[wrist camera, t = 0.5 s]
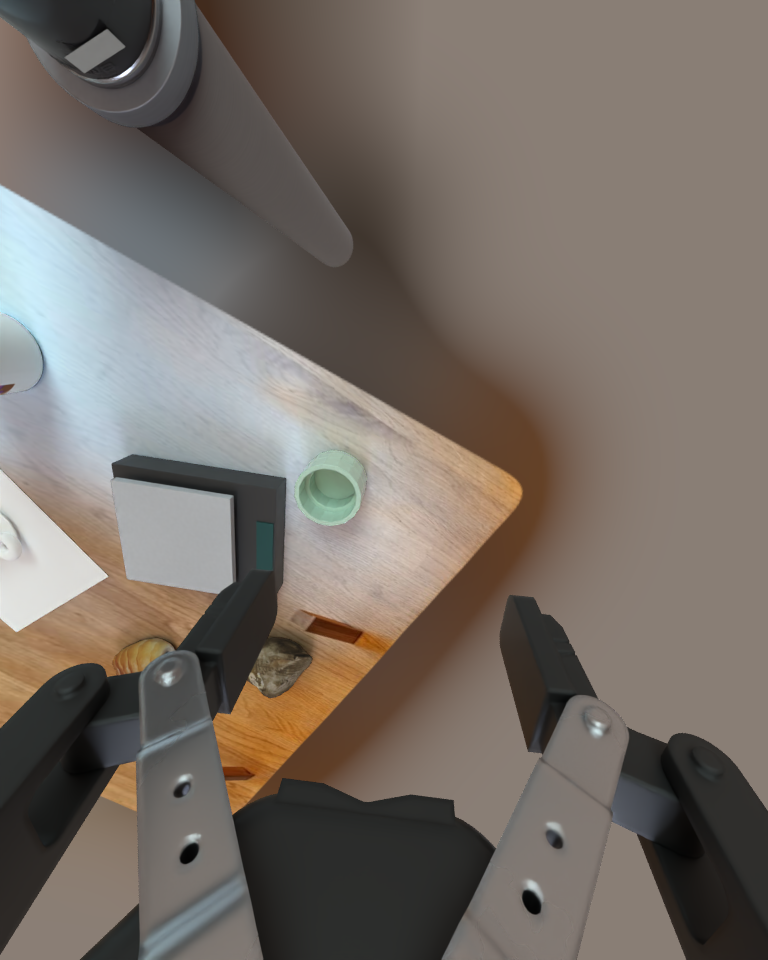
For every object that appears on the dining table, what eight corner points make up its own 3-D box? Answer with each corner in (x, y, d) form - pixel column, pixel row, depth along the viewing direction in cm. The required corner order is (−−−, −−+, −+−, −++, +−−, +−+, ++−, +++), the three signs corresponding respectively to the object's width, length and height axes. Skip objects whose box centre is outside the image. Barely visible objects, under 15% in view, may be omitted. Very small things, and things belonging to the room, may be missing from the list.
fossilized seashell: (308, 639, 45) (235, 622, 47) (287, 701, 41) (209, 680, 43) (322, 653, 51) (257, 638, 53) (305, 709, 47) (236, 689, 49)
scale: (132, 454, 40) (98, 468, 36) (286, 478, 39) (270, 495, 35) (147, 561, 45) (119, 585, 41) (282, 583, 45) (268, 609, 41)
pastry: (135, 676, 53) (115, 700, 50) (111, 641, 51) (89, 663, 48) (191, 668, 52) (175, 692, 48) (169, 631, 50) (150, 654, 46)
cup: (309, 444, 38) (295, 459, 33) (370, 453, 38) (364, 470, 33) (306, 499, 40) (293, 520, 36) (363, 508, 40) (357, 530, 36)
